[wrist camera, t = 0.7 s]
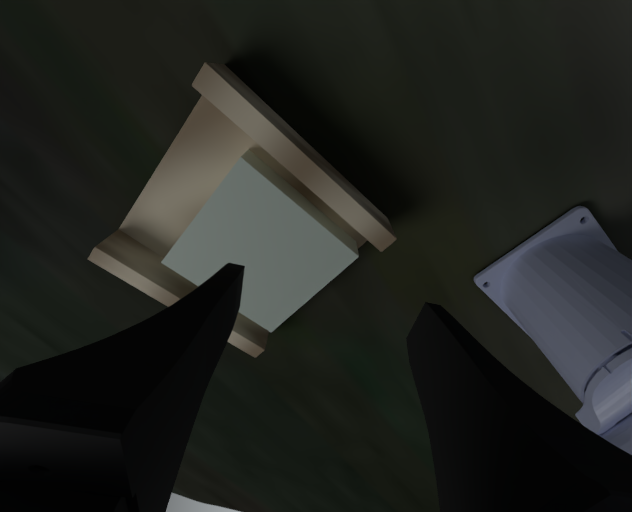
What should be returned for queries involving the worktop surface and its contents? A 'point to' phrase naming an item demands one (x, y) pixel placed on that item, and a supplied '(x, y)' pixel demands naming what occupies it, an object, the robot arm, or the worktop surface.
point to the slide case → (206, 175)
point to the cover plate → (263, 242)
